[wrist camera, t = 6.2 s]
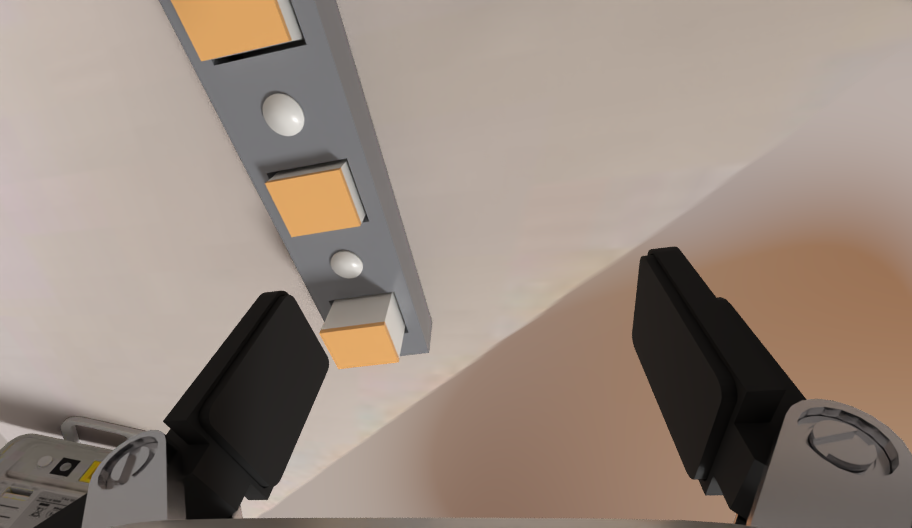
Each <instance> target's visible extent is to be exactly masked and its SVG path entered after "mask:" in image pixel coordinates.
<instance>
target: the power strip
mask: <svg viewBox="0 0 912 528" xmlns="http://www.w3.org/2000/svg"><path fill="white" fill-rule="evenodd" d="M159 1H160V3H161V5H162V7H163V9H164V11H165V13H166V15H167V17H168V19H169V21H170V23H171V25H172V27H173V29H174V31H175V32H176V34H177V36H178V38H179V40H180V42H181V44H182V46H183V48H184V50H185V52H186V54H187V56H188V58H189V60H190V62H191V64H192V66H193V67H194V69H195V71H196V73H197V75H198V77H199V79H200V81H201V83H202V85H203V87H204V89H205V91H206V93H207V95H208V97H209V99H210V101H211V102H212V104H213V106H214V108H215V110H216V112H217V114H218V116H219V118H220V120H221V122H222V124H223V126H224V128H225V130H226V132H227V134H228V135H229V137H230V139H231V141H232V143H233V145H234V147H235V149H236V151H237V153H238V155H239V157H240V159H241V161H242V163H243V165H244V167H245V169H246V170H247V172H248V174H249V176H250V178H251V180H252V182H253V184H254V186H255V188H256V190H257V192H258V194H259V196H260V198H261V200H262V202H263V204H264V205H265V207H266V209H267V211H268V213H269V215H270V217H271V219H272V221H273V223H274V225H275V227H276V229H277V231H278V233H279V235H280V237H281V238H282V240H283V242H284V244H285V246H286V248H287V250H288V252H289V254H290V256H291V258H292V260H293V262H294V264H295V266H296V268H297V270H298V272H299V273H300V275H301V277H302V279H303V281H304V283H305V285H306V287H307V289H308V291H309V293H310V295H311V297H312V299H313V301H314V303H315V305H316V307H317V308H318V310H319V312H320V314H321V316H322V318H323V320H324V322H325V320H326V318H327V315H328V313H329V311H330V309H331V307H332V304H333V302H334V300H338V299H345V298H352V297H359V296H367V295H374V294H381V293H388V292H394V293H395V296H396V298H397V301H398V304H399V307H400V310H401V313H402V315H403V318H404V321H405V324H406V325H405V330H404V336H403V341H402V346H401V352H400V356H405V355H413V354H422V353H429V349H430V339H431V330H432V320H431V316H430V313H429V309H428V306H427V303H426V299H425V296H424V293H423V289H422V286H421V283H420V279H419V276H418V273H417V269H416V266H415V263H414V259H413V256H412V253H411V249H410V246H409V243H408V239H407V236H406V233H405V229H404V226H403V223H402V219H401V216H400V213H399V209H398V206H397V203H396V199H395V196H394V193H393V189H392V186H391V183H390V179H389V176H388V173H387V169H386V166H385V163H384V159H383V156H382V153H381V149H380V146H379V143H378V139H377V136H376V133H375V129H374V126H373V123H372V119H371V116H370V112H369V109H368V106H367V102H366V99H365V96H364V92H363V89H362V86H361V82H360V79H359V76H358V72H357V69H356V66H355V62H354V59H353V56H352V52H351V49H350V46H349V42H348V39H347V36H346V32H345V29H344V26H343V22H342V19H341V16H340V12H339V9H338V6H337V2H336V0H291V2H292V5H293V8H294V10H295V13H296V16H297V19H298V22H299V25H300V27H301V30H302V33H303V36H304V39H305V40H300V41H296V42H291V43H287V44H283V45H278V46H274V47H270V48H265V49H261V50H256V51H252V52H248V53H243V54H238V55H233V56H227V57H222V58H217V59H211V60H206V61H201V60H200V58H199V56H198V54H197V52H196V50H195V48H194V46H193V44H192V42H191V40H190V38H189V36H188V34H187V32H186V30H185V28H184V26H183V24H182V22H181V20H180V18H179V16H178V14H177V12H176V10H175V8H174V6H173V4H172V2H171V0H159ZM346 158H347V160H348V163H349V166H350V169H351V171H352V174H353V177H354V180H355V183H356V186H357V188H358V191H359V194H360V197H361V200H362V202H363V205H364V208H365V211H366V215H365V217H364V219H363V221H362V223H361V225H360V226H358V227H352V228H345V229H339V230H333V231H327V232H321V233H315V234H308V235H302V236H296V237H291V235H290V233H289V231H288V229H287V227H286V225H285V223H284V221H283V219H282V217H281V215H280V213H279V211H278V209H277V207H276V205H275V203H274V201H273V199H272V197H271V195H270V193H269V191H268V189H267V187H266V185H265V183H266V182H267V181H268V180H269V179H271V178H272V177H273V176H274V175H275V174H276V173H278V172H279V171H281V170H287V169H292V168H297V167H303V166H308V165H314V164H319V163H324V162H330V161H335V160H340V159H346Z"/></svg>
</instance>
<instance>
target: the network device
mask: <svg viewBox="0 0 912 528" xmlns="http://www.w3.org/2000/svg"><path fill="white" fill-rule="evenodd" d="M75 425H79V426H84V427H89V428H93V429H98V430H103V431H107V432H112V433H116V434H120V435H123V436H124V437H126V438H127V439H129V438H131V437H133V436H135V435H137V434H140V433H142V432H146V431H143V430H138V429H134V428H130V427H125V426H121V425H116V424H112V423H107V422H103V421H98V420H94V419H89V418H84V417H70V418H68V419H66V420H65V421H64V422H63V423H62V424H61V426H60V427H61V432H62V435H63V438H64V440H62V439H57V438H53V437H48V436H43V435H38V434H25V435H21V436H18V437H16V438H14V439H13V440H11V441H10V442H8V443H7V444H6V445H5V446H4V447H3V448H2V449H1V450H0V528H33V527H35V526H36V525H38V524H40V523H41V522H43V521H44V520H46V519H47V518H49V517H50V516H52V515H54V514H55V513H57V512H58V511H60V510H61V509H63V508H64V507H66V506H68V505H69V504H71V503H72V502H74V501H75V500H77V499H78V498H80V497H81V496H83V495H85V494H86V493H88V487H89V483H90V480H91V477H92V475H93V473H94V472H95V470H96V469H97V467H98V466H99V464H100V463H101V462H102V461H103V460H104V459H105V458H106V457H107V455H108V454H110V453H111V452H112V451H113V450H110V449H105V448H100V447H95V446H91V445H86V444H81V443H80V441H79V437H78V433H77V430H76V426H75Z"/></svg>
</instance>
